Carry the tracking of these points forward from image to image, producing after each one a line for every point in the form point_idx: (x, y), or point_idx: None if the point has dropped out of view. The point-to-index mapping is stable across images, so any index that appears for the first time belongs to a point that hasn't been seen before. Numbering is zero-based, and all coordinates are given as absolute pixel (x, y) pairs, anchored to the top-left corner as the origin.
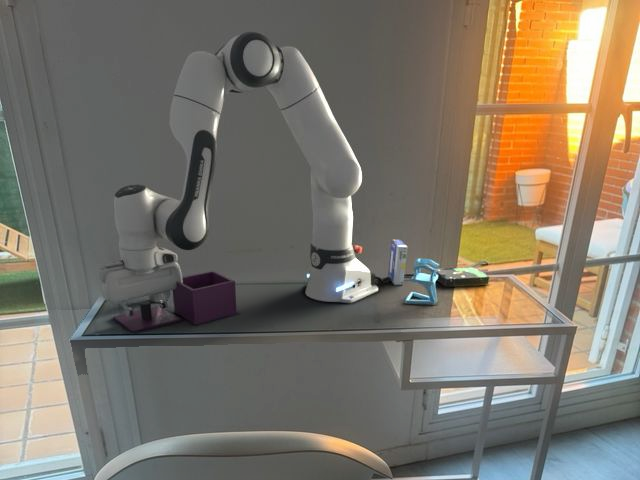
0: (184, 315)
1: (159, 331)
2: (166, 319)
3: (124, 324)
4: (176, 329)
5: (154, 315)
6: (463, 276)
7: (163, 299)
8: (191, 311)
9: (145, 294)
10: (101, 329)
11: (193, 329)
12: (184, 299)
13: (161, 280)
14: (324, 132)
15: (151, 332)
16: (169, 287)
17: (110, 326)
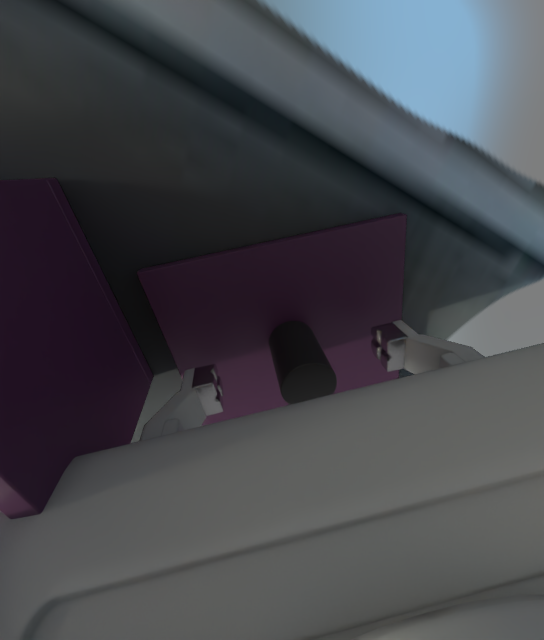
0: (108, 301)
1: (281, 173)
2: (212, 290)
3: (400, 302)
4: (184, 157)
5: (253, 351)
6: None
7: (196, 408)
8: (28, 223)
9: (338, 398)
10: (475, 305)
11: (73, 101)
12: (44, 336)
13: (186, 523)
14: None
15: (322, 179)
16: (130, 459)
17: (435, 320)
